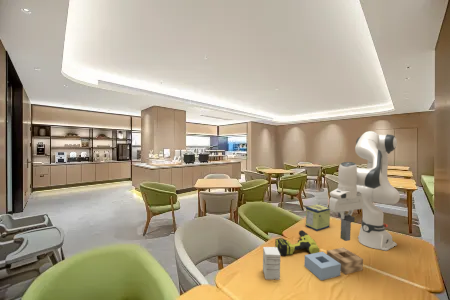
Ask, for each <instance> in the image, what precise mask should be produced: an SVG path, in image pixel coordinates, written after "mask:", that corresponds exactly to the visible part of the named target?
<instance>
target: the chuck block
mask: <svg viewBox="0 0 450 300" xmlns="http://www.w3.org/2000/svg"><path fill="white" fill-rule="evenodd" d="M303 263H304V265H303V266H304V267H305V268H306V269H307V270H308V271H309V272H311V273H312V274H313V275H314V276H315V277H317V278H318V280H319V281H324V280H329V279H331V278H336V277H340V276H341V273H342V272H341V264H340V263H339V262H337V261H336V260H334V259H333V258H331V257H330V256H328V255H327V253H325V252H324V251H319V252H318V253H313V254H311V253H310V254H305V255H304V262H303Z"/></svg>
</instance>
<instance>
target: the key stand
mask: <svg viewBox="0 0 450 300" xmlns="http://www.w3.org/2000/svg"><path fill="white" fill-rule="evenodd" d="M326 254H327V255H328V256H330V257H331V258H333V259H334V260H336V261H337V262H339V263H340V264H341V273H342V274H344V275H348V274H351V273H355V272H360V271H363V268H364V267H363V265H364V258H363V257H361V256H359V255H357V254H356V253H354V252H352V251H351V250H349V249H347V248H345V247H339V248H335V249H334V248H333V249H330V250H329V249H328V250H326Z"/></svg>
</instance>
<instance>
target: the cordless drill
mask: <svg viewBox="0 0 450 300" xmlns="http://www.w3.org/2000/svg"><path fill="white" fill-rule="evenodd" d="M298 235H299V236H300V239H299V240H297V243H293V244H292V243H291V242H290V241H289V240H287V239H284V238H281V237H280V238H275V243H274V244H275V245H274V247H277V249H278V251H279V253H280V257H286V256H287V255H293V254H294V251H298V250H303V249H305V250H307V251H308V252H309V253H310V254H313V253H318V252H321V251H320V247H319V246H318V244H317V242H316V241H315V240H314V239H313V238H312V237H311V236H310V235H309V234H308V233H307V232H305V230H299V231H298Z"/></svg>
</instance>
